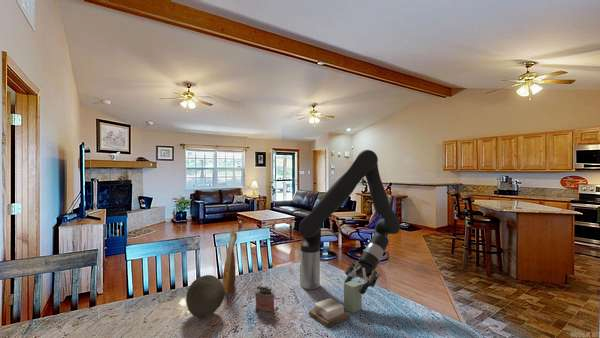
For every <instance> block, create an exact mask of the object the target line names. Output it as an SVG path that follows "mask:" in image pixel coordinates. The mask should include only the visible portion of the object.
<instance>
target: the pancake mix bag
mask: <svg viewBox="0 0 600 338" xmlns="http://www.w3.org/2000/svg"><path fill="white" fill-rule="evenodd" d="M237 239H238V234H237V233H236V231H235V229H234V227H233V226H232V225H231V226H230V233H229V240H228V247H227V249H226V255H225V256H226V257H225V259H224V260H225V262H224V268H223V272H222V284H223V286H224V289H225V294H226V295H229V294H231V293H233V292H234V289H235V285H236V257H235V252H234V250H235V249H234V248H235V244H236V242H237Z"/></svg>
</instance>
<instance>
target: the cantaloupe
mask: <svg viewBox="0 0 600 338" xmlns="http://www.w3.org/2000/svg"><path fill="white" fill-rule="evenodd" d="M225 294H226V293H225V289H224V286H223V281H222V280H220V279H219V278H217V277H216V276H215V275H212V274H207V275H202V276H199V277H197V278H196V279H194V281H192V282H191V284H190V285H189V287H188V288H187V291H186V297H185V300H186V307H187V310H188V311H189V313H190V314H192V316H194V317H196V318H201V319H202V318H206V317H209V316H212V314H214V313H216V311H217V310H218V309H219V308H220V306H221V305H222V303H223V301H224V299H225V296H226V295H225Z"/></svg>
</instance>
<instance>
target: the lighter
mask: <svg viewBox="0 0 600 338" xmlns="http://www.w3.org/2000/svg"><path fill="white" fill-rule="evenodd" d="M256 289H257V290H256V291H255V293H254V294H255V310H254V311H255V312H256V313H259V314H264V315H274V314H275V293H274V292H272V287H269V286H268V285H265V286H263V285H257V286H256Z"/></svg>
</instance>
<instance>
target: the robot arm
mask: <svg viewBox="0 0 600 338" xmlns="http://www.w3.org/2000/svg"><path fill="white" fill-rule="evenodd" d="M378 162H379V158H378V155H377V154H376V153H375V151H373V150H370V149H365V150H362V151H360V152H359V153H358V155H357V156H356V158H355V160H353V162H352V164H351V166H350V167H348V169H347V171H345V172H344V174H342V175H341V176H340V177H339V178H338V179H337V180H336V181H335V182H334V183H332V185H331V186H330V187H329V189H328V190H327V191H326V192H325V194H324V195H323V196H322V197H321V199H319V202H317V204H316V206H315V207H314V209H313V210H312V211H311V212H309V213H308V214H307V216H305V217H304V218H303V219H302V220H301V221H300V223H299V224H298V232H299V234H300V236H301V237H302V241H301V243H300V264H299V285H300V286H301V288H303V289H306V290H315V289H319V288H320V287H321V257H320V255H321V248H320V247H321V243H322V242H321V241H322V225H323V224H324V222H325V221H326V220H327V219H328V218H329V217H330V216H332V214H334V213H335V212H336V211H337V210H338V209H339V208H340V207H342V205H343V204H344V203H345V202H346V201H347V200H348V198H349V197H350V196H351V194H352V193H353V192H354V190H355V189H356V187H357V186H358V185H359V183H360V182H361V181H362V179H364V177H365V179H366V182H367V185H368V190H369V195H370V199H371V202H372V205H373V207H374V210H375V213H376V214H377V215H379V216H380V217H383V218H380V219H379V220H378V221H377V222H376V224H375V227H374V232H373V234H372V235H373V236H372V237H371V239H370V241H369V243H368V244H367V245H366V247H365V249H364V250H363V252H362V254H361V256H360V257H359V259H358V263H357V264H356V263H354V262H353V261H352V262H351V263H350V265H349V266H348V267H347V269H346V270H345V272H344V273H345V275H346V276H347V277H346V278H345V281H344V282H343V284H344V283H346V282H349V281H352V280H354V279H356V278H358V277H359V278H361V279H363V280H364V283H362V287H361V289H360V291H359V292H360V293H361V294H362V296H363V295H365V293H367V290H368V288H369V287H372V288H374V287H375V285H376V282H377V280H378V279H379V276H380V274H379V272H378V271H377V270H376V269H377V267H378V265H379V263H380V261H381V260H382V258H383V256H384V252H385V250H386V249H387V247H388V245H389V238H388V237H387V235H395V234H398V233H399V232H400V231H401V223H400V220H399V218H398V216H397V215H396V213H395V211H394V210H393V209H392V206H391V203H390V200H389V198H388V195H387V192H386V189H385V187H384V184H383V181H382V178H381V175H380V170H379V165H378Z"/></svg>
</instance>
